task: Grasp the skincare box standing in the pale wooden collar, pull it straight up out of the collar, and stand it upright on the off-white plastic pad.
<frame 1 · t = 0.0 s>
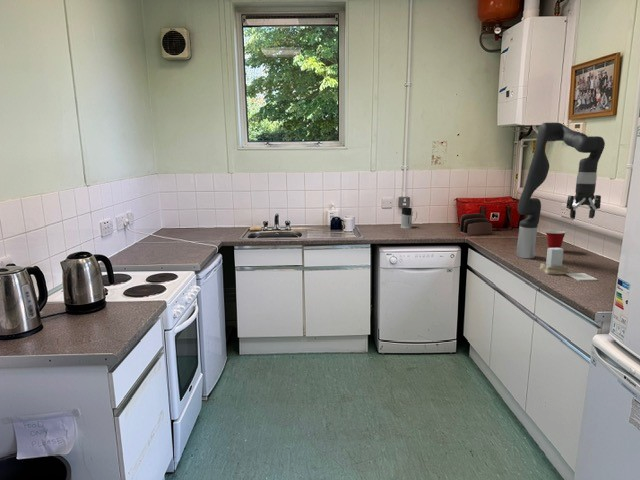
hand: (581, 218, 200), 29 cm above the counter, tool pointing down, fingers open, 8 cm apart
letter holder: (475, 233, 317), on the counter
collar: (553, 271, 219), on the counter
pad: (581, 277, 210), on the counter
tall grey mug: (408, 228, 340), on the counter
plastic cup: (553, 251, 263), on the counter
skincare box: (553, 272, 219), resting in collar
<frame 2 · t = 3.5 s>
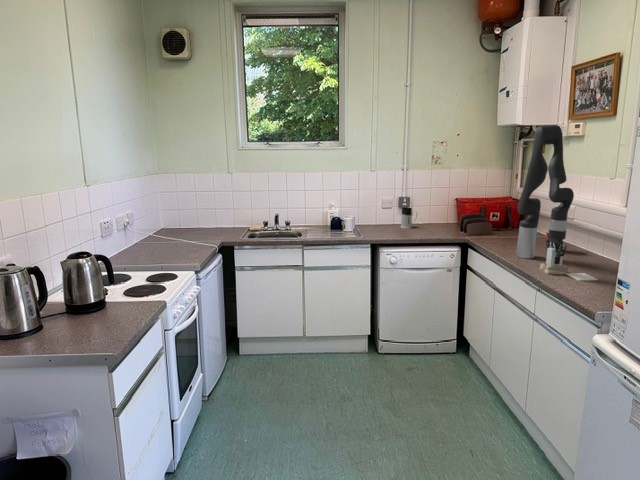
hand: (554, 262, 218), 5 cm above the counter, tool pointing down, fingers closed on skincare box, 4 cm apart
skincare box: (552, 272, 219), resting in collar, touching gripper
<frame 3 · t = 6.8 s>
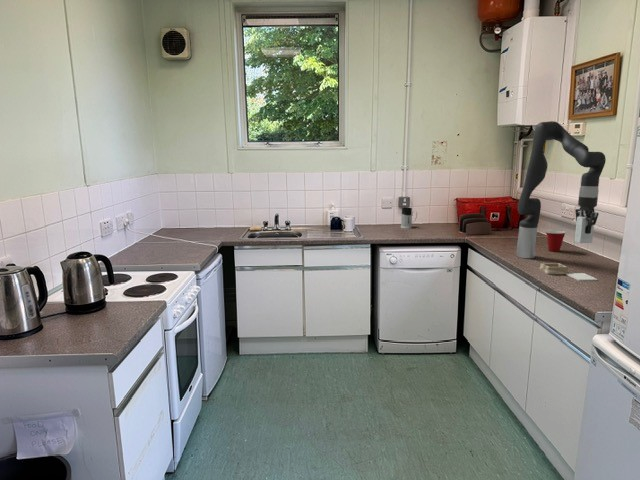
hand: (584, 232, 206), 22 cm above the counter, tool pointing down, fingers closed on skincare box, 4 cm apart
skincare box: (583, 242, 207), point 17 cm above the counter, touching gripper
when the fingers open (7 cm above the counter, at t = 10.4 s): skincare box drops 2 cm, resting on pad.
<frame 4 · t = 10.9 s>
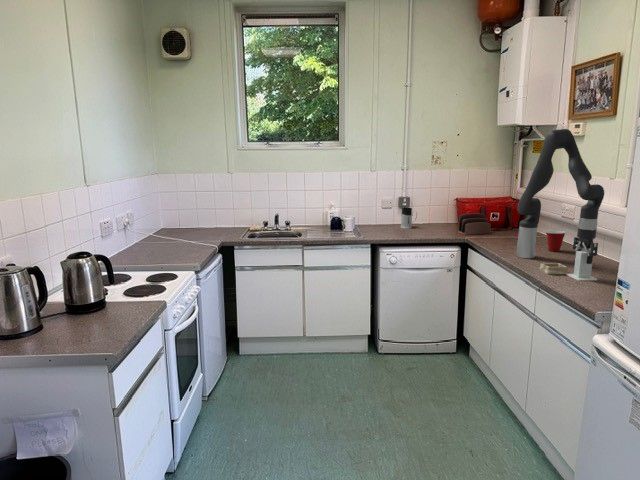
hand: (583, 261, 208), 8 cm above the counter, tool pointing down, fingers open, 8 cm apart
skincare box: (581, 276, 209), resting on pad
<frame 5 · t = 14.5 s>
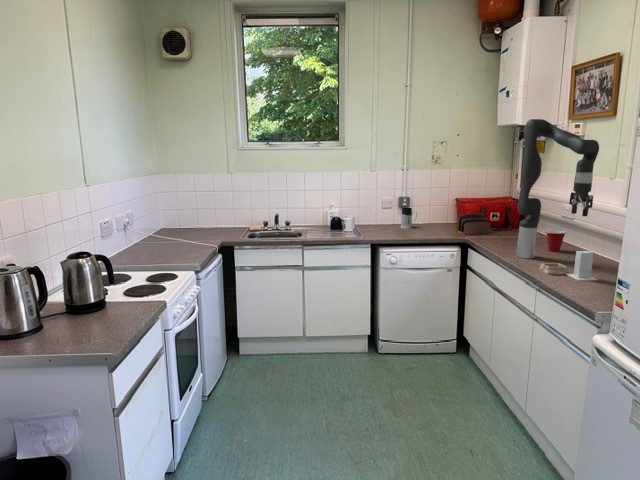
hand: (579, 214, 217), 28 cm above the counter, tool pointing down, fingers open, 8 cm apart
at the end: skincare box inside the target area on the pad (0.3 cm from its centre), point 0.4 cm above the pad's base; skincare box tilted 0°; the gripper is holding nothing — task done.
